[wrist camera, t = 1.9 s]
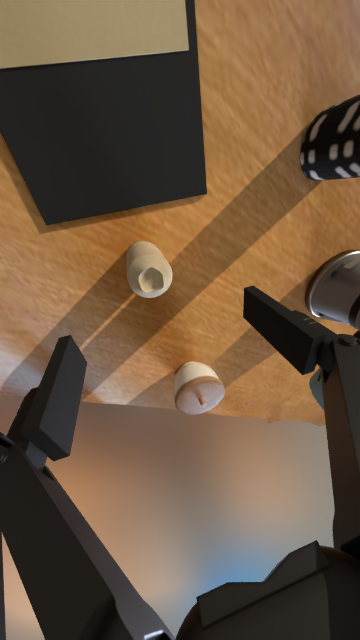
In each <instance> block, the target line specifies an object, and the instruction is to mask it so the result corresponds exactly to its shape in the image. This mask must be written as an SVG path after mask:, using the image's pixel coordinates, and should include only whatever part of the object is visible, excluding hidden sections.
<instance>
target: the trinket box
mask: <svg viewBox="0 0 360 640" xmlns="http://www.w3.org/2000/svg"><path fill="white" fill-rule="evenodd" d="M224 391H225V389H224V386H223V384H222V382H221V381H220V380H219V378H218V376H217V375H216V373H215V372H214V371H213V370H212V369H211V368H210V367H209V366H207V365H205V364H203V363H199V362H188V363H186V364H184V365H182V366H181V367H180V368H179V370H178V372H177V373H176V375H175V377H174V380H173V394H174V398H175V404H176V407H177V409H178V410H179V411H180V412H182V413H185V414H199V413H203V412H205V411H208V410H210V409H211V408H213V407H214V406H216V405H217V404H218V403H219V402H220V401H221V399H222V398H223V395H224Z"/></svg>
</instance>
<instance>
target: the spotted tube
mask: <svg viewBox="0 0 360 640" xmlns="http://www.w3.org/2000/svg"><path fill="white" fill-rule="evenodd" d="M300 161H301V167H302V171H303V173H304V174H305V176H306V177H307V178H309V179H311V180H314V181H318V180H330V179H343V178H355V177H360V94H359V95H357V96H355V97H352V98H350V99H348V100H345V101H343V102H341V103H338V104H336V105H334V106H331V107H329V108H327V109H325V110H324V111H322V112H321V113H320V114H319V115H318V116H317V117H316V118H315V119H314V121H313V122H312V123H311V125H310V127H309V128H308V130H307V132H306V135H305V137H304V140H303V143H302V148H301V156H300Z"/></svg>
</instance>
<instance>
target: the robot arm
mask: <svg viewBox="0 0 360 640" xmlns="http://www.w3.org/2000/svg"><path fill="white" fill-rule="evenodd" d="M305 302H306V307H307V309H308V310H309V311H310V312H311V313H312V314H314V315H316V316H317V317H320V318H323V319H327V320H331V321H336V322H340V323H345V324H349V325H351V326H353V327H354V328H356V329H358V331H357V332H356V333H355V334H354V335H353V336H352V335H347V334H338V335H337V334H335V333H334V332H332V331H331V330H329V329H328V328H326V327H324V326H323V325H321V324H320V323H318V322H316V321H315V320H314V319H312V318H310V317H309V316H307V315H306V314H304V313H301V312H299V311H296V310H294V311H290V310H289V309H287V308H286V307H284V306H283V305H281V304H280V303H278V302H277V301H275V300H274V299H272V298H271V297H269V296H268V295H267V294H265V293H264V292H262V291H261V290H259V289H258V288H256V287H255V286H250V287H246V288H244V310H243V317H244V318H245V319H246V320H247V321H248V322H249V323H250V324H251V325H252V326H253V327H254V328H255V329H256V330H257V331H258V332H259V333H260V334H261V335H262V336H263V337H264V338H265V339H266V340H267V341H268V342H269V343H270V344H271V345H272V346H273V347H274V348H275V349H276V350H277V351H278V352H279V353H280V354H281V355H282V356H283V357H284V358H286V359H287V360H288V361H289V362H290V363H291V364H292V365H293V366H294V367H295V368H296V369H297V370H298V371H299V372H300V373H301V374H302V375H304V374H307V373H310V372H313V371H314V370H315V367H316V364H318V365H319V366H320V367H319V369H318V370H317V371H316V372H315V374H314V375H313V376H312V377H311V378H310V381H309V385H310V389H311V391H312V394H313V396H314V397H315V399H316V400H317V402H318V403H319V405H320V406H321V407H322V409H323V410H324V411H325V421H326V429H327V440H328V449H329V458H330V467H331V477H332V487H333V495H334V505H335V514H334V519H333V542H334V548H332V547H327V546H320V545H319V543H318V542H317V540H316V541H314V542H312V543H310V544H308V545H306V546H303V547H302V548H299V549H297V550H295V551H293V552H291V553H289V554H288V555H287V556H286V557H285V558H284V559H283V560H282V561H280V562H279V563H278V564H277V566H276V567H275V568H274V569H273V570H272V571H271V573H270V574H269V575H268V576H267V577H266V578H265V580H264V581H263V582H228V583H226V584H223V585H221V586H219V587H217V588H215V589H213V590H211V591H209V592H207V593H204V594H202V595H200V596H198V597H197V603H196V604H195V605H194V606H193V607H192V609H191V610H190V612H189V613H188V614H187V616H186V617H185V619H184V622H183V623H182V625H181V627H180V629H179V632H178V634H177V636H176V639H175V638H174V636H173V635H172V634H171V632H170V631H169V630H168V628H167V627H166V625H165V624H164V623H163V621H162V620H161V619H160V617H159V616H158V615H157V613H156V612H155V611H154V610H153V609H152V608H151V607H150V606H149V605H148V604H147V603H146V602H145V601H144V600H143V599H142V598H141V596H140V595H139V594H138V592H137V591H136V590H135V588H134V587H133V586H132V584H131V583H130V581H129V580H128V578H127V577H126V576H125V574H124V573H123V572H122V570H121V569H120V567H119V566H118V564H117V563H116V562H115V560H114V559H113V558H112V556H111V555H110V553H109V552H108V550H107V549H106V548H105V546H104V545H103V543H102V542H101V541H100V539H99V538H98V537H97V535H96V534H95V532H94V531H93V530H92V528H91V527H90V525H89V524H88V523H87V521H86V520H85V518H84V517H83V516H82V514H81V513H80V512H79V510H78V509H77V507H76V506H75V504H74V503H73V502H72V500H71V499H70V498H69V496H68V495H67V493H66V492H65V490H64V489H63V488H62V486H61V485H60V484H59V482H58V481H57V479H56V478H55V477H54V475H53V474H52V472H51V471H50V470H49V468H48V467H47V466H45V463H46V459H47V456H48V457H49V458H50V459H51V460H53V461H56V460H58V459H62V458H65V457H67V456H69V455H70V452H71V446H72V441H73V435H74V430H75V425H76V419H77V414H78V409H79V404H80V398H81V393H82V388H83V382H84V377H85V372H86V366H87V361H86V360H85V358H84V356H83V355H82V353H81V351H80V350H79V348H78V346H77V345H76V343H75V341H74V340H73V338H72V336H71V335H68V336H64V337H61V338H59V339H58V342H57V344H56V347H55V349H54V351H53V354H52V356H51V359H50V361H49V363H48V366H47V368H46V371H45V373H44V375H43V378H42V380H41V383H40V385H39V387H36V388H33V389H31V390H30V392H29V393H28V394H27V395H26V396H25V397H24V400H23V402H22V404H21V406H20V408H19V410H18V412H17V416H16V417H15V419H14V421H13V423H12V425H11V427H10V430H9V432H8V434H7V436H5V435H4V434H2V433H1V432H0V640H6V632H5V606H4V580H3V556H2V533H3V536H4V538H5V540H6V543H7V546H8V548H9V550H10V553H11V556H12V558H13V561H14V563H15V565H16V568H17V570H18V573H19V575H20V578H21V580H22V583H23V585H24V588H25V590H26V593H27V595H28V598H29V600H30V603H31V605H32V607H33V610H34V613H35V615H36V618H37V620H38V623H39V625H40V628H41V630H42V633H43V635H44V638H45V640H360V251H358V250H349V251H345V252H342V253H340V254H338V255H336V256H335V257H333V258H332V259H330V260H329V261H328V262H327V263H325V264H324V265H323V266H322V267H321V268H320V270H319V271H318V272H317V273H316V275H315V276H314V277H313V279H312V281H311V283H310V285H309V287H308V290H307V293H306V299H305Z"/></svg>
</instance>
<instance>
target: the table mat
mask: <svg viewBox="0 0 360 640" xmlns="http://www.w3.org/2000/svg"><path fill="white" fill-rule="evenodd" d="M0 131H1V133H2V135H3V137H4V139H5V141H6V143H7V145H8V147H9V149H10V151H11V153H12V156H13V158H14V160H15V162H16V164H17V166H18V168H19V170H20V172H21V174H22V176H23V178H24V180H25V182H26V184H27V186H28V188H29V190H30V192H31V194H32V196H33V198H34V201H35V203H36V205H37V207H38V209H39V211H40V213H41V215H42V217H43V219H44V221H45V223H46V225H50V224H55V223H60V222H65V221H70V220H75V219H80V218H85V217H91V216H96V215H101V214H106V213H111V212H116V211H121V210H126V209H131V208H137V207H142V206H147V205H152V204H157V203H162V202H167V201H172V200H177V199H183V198H188V197H193V196H198V195H203V194H207V188H206V172H205V157H204V142H203V126H202V111H201V95H200V80H199V65H198V49H197V34H196V19H195V3H194V0H0Z"/></svg>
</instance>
